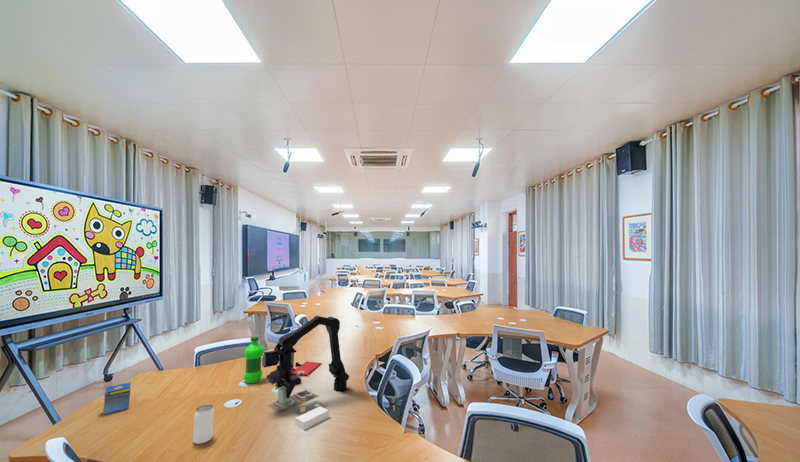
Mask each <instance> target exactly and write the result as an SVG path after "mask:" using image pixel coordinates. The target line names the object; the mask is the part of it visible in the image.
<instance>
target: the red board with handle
mask: <svg viewBox="0 0 800 462" xmlns="http://www.w3.org/2000/svg"><path fill="white" fill-rule="evenodd" d="M321 365H323V363H322V362H314V361H312V362H311V361H305V362H304V363H302V364H301V363H299V361H296V362H295V365H294V367H296V368H294V367H293V377H294V376H297V377H299V378H300V377H309V376H310V375H312V373H313V372H314V371H316V369H318V368H319V367H320V366H321Z"/></svg>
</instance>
